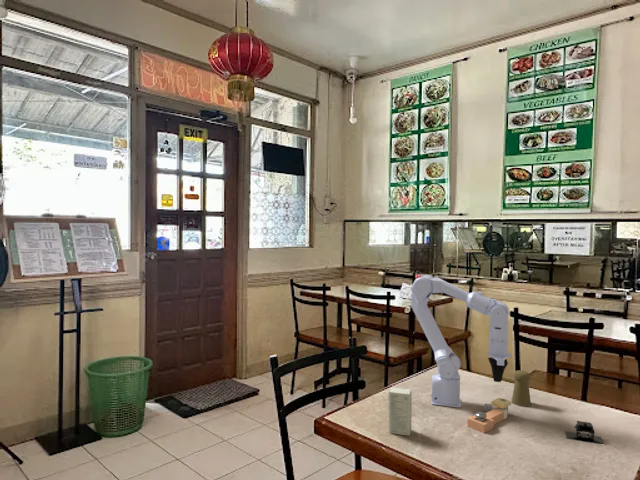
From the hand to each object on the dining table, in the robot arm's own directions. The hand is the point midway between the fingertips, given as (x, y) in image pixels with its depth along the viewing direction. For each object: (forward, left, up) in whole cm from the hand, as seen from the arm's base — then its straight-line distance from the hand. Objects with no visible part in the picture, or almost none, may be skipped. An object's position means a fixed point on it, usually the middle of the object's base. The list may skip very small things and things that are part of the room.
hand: (497, 381), depth 144 cm
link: (-3, -10, -10) cm, 14 cm away
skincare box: (-29, -24, -10) cm, 39 cm away
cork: (+9, +10, -10) cm, 17 cm away
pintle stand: (-2, -7, -10) cm, 13 cm away
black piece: (+22, -12, -11) cm, 27 cm away
